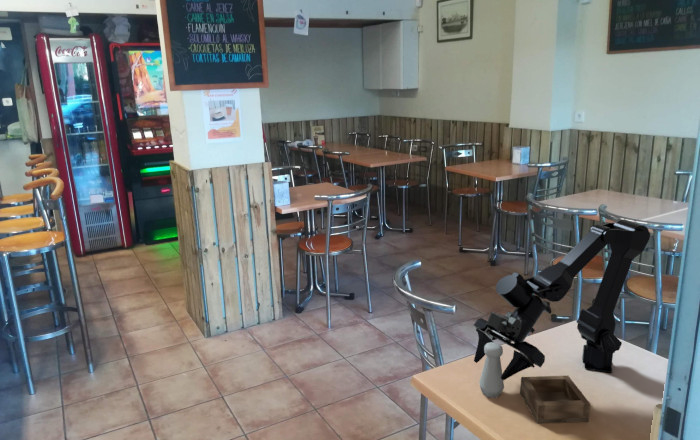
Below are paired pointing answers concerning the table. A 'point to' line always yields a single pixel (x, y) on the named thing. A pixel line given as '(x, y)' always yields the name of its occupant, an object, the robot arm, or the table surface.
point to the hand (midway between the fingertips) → (488, 370)
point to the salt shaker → (492, 371)
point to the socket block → (554, 399)
